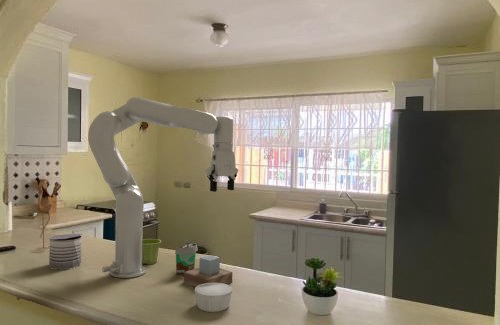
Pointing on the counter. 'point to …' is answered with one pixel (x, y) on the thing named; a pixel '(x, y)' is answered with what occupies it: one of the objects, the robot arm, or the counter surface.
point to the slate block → (209, 265)
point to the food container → (185, 257)
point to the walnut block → (207, 277)
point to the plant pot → (150, 250)
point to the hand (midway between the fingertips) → (222, 190)
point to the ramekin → (213, 296)
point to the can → (65, 251)
